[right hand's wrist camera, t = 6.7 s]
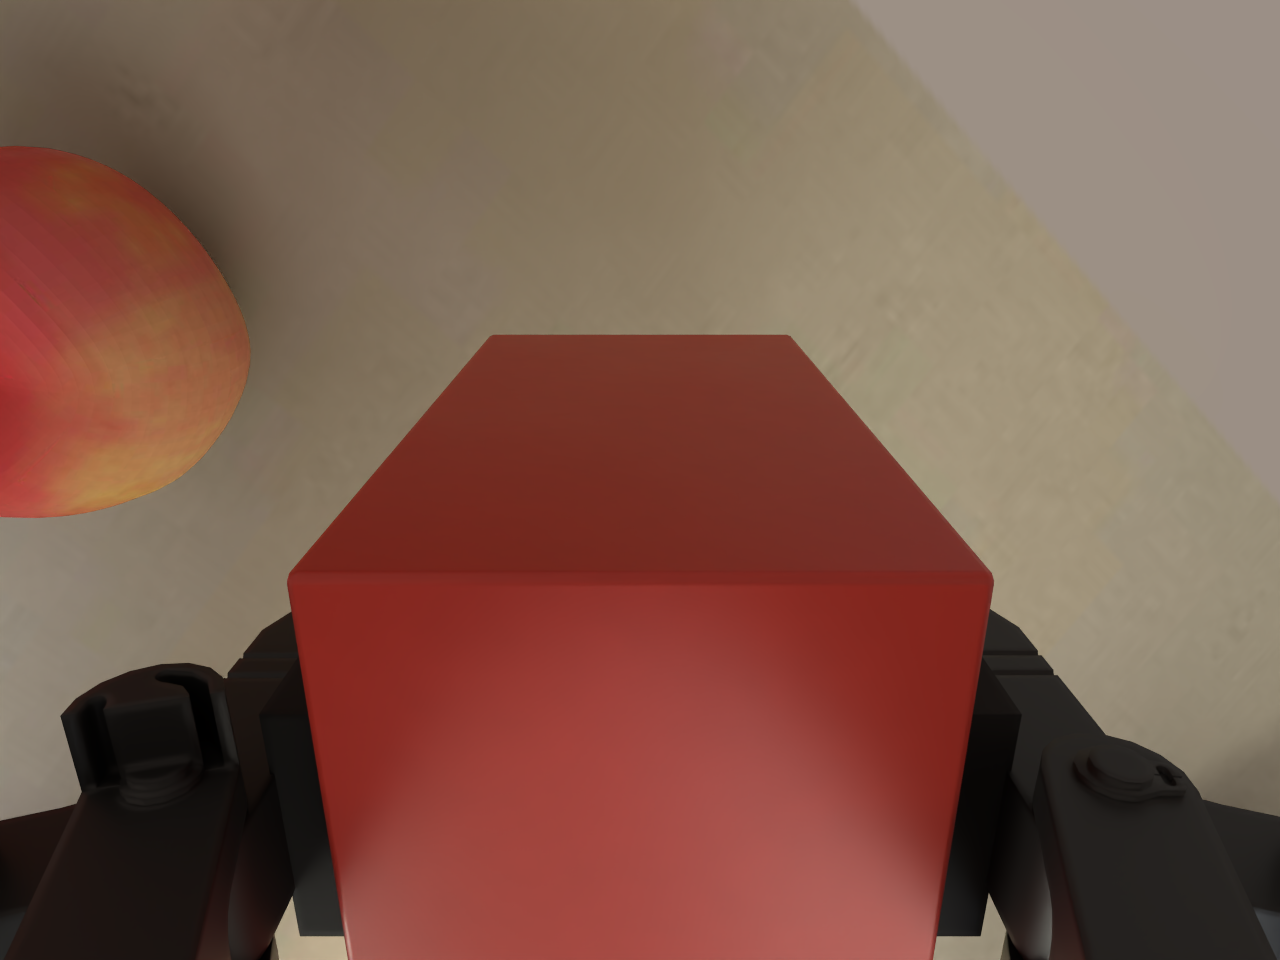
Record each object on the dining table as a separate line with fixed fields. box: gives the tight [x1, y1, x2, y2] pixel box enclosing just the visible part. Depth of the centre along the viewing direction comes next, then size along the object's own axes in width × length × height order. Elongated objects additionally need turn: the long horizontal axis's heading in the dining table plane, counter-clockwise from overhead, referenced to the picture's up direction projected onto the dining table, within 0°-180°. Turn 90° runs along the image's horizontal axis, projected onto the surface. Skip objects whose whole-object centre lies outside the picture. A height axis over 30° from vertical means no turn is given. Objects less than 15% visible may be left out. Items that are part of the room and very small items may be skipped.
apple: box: [0, 146, 251, 518], centre depth 23 cm, size 10×10×10 cm
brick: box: [287, 335, 994, 960], centre depth 12 cm, size 6×6×10 cm
